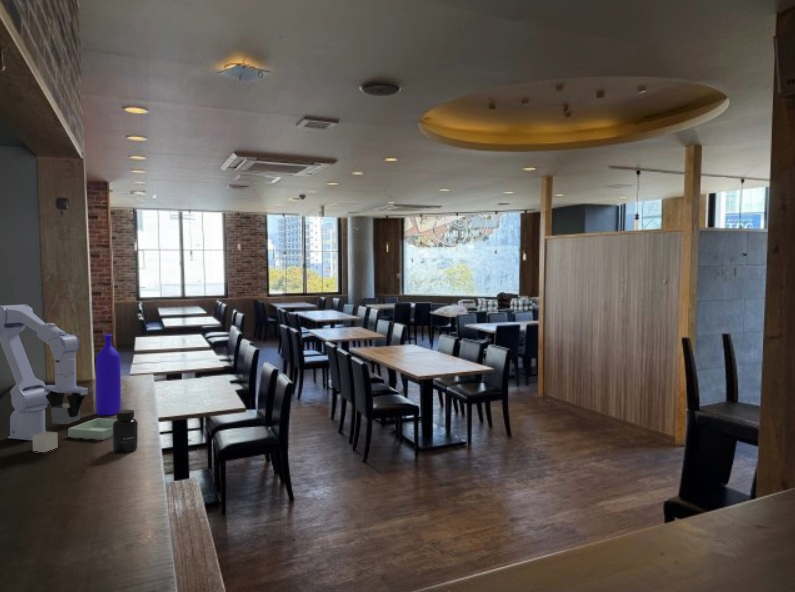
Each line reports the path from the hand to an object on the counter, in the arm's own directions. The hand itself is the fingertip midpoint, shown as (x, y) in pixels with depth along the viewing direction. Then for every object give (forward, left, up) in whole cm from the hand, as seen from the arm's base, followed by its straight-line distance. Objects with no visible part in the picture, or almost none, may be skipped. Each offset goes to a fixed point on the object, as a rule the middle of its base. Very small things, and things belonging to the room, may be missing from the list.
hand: (66, 415), depth 174 cm
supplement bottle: (+23, -2, -9) cm, 25 cm away
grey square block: (0, 0, -2) cm, 2 cm away
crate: (+4, +10, -8) cm, 14 cm away
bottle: (-12, +33, -9) cm, 36 cm away
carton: (0, -8, -8) cm, 12 cm away
